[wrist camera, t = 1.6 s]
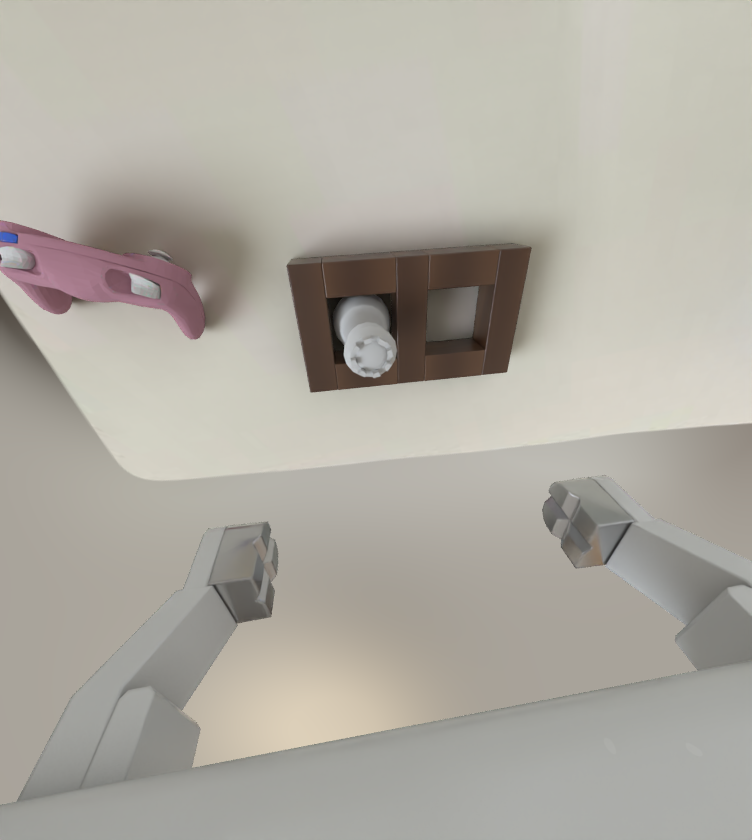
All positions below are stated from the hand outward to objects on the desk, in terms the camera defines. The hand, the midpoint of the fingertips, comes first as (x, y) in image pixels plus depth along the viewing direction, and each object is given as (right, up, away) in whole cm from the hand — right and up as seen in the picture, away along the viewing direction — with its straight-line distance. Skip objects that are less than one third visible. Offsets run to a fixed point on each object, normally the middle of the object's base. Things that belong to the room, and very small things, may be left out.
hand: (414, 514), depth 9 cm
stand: (+1, +11, +16) cm, 20 cm away
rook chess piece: (-2, +11, +16) cm, 20 cm away
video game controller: (-18, +12, +13) cm, 25 cm away
